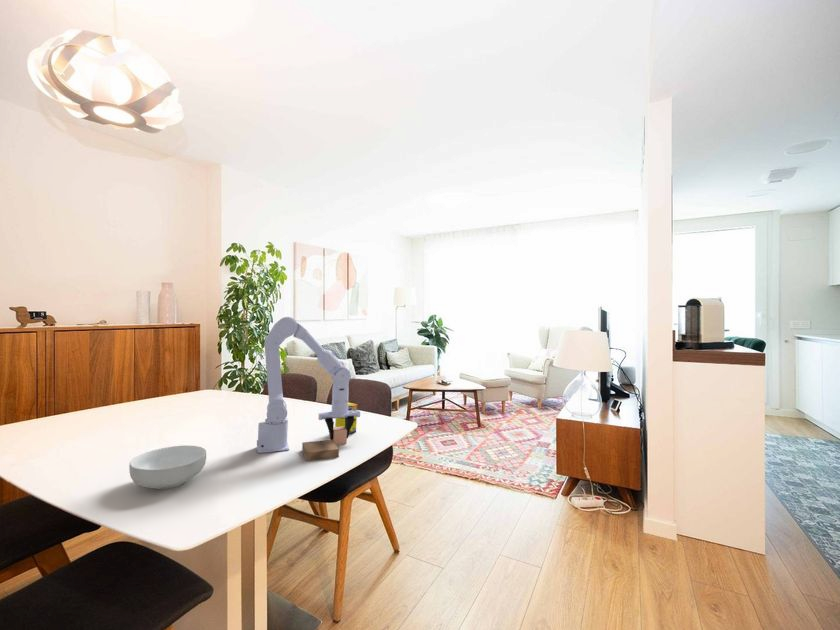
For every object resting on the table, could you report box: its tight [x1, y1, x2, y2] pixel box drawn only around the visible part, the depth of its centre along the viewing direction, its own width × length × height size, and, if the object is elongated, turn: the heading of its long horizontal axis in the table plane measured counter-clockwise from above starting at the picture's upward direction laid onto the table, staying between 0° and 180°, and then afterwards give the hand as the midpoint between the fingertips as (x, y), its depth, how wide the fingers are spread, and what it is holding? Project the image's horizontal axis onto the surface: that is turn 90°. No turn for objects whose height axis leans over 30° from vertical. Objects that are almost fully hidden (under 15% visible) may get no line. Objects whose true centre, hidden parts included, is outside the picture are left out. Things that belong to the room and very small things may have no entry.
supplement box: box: [334, 401, 358, 435], centre depth 146 cm, size 6×6×11 cm
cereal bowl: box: [128, 445, 207, 490], centre depth 98 cm, size 17×17×7 cm
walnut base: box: [301, 439, 340, 462], centre depth 122 cm, size 10×10×2 cm
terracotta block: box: [333, 426, 348, 446], centre depth 134 cm, size 4×4×5 cm
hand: (338, 438), depth 134 cm, fingers open, 5 cm apart
